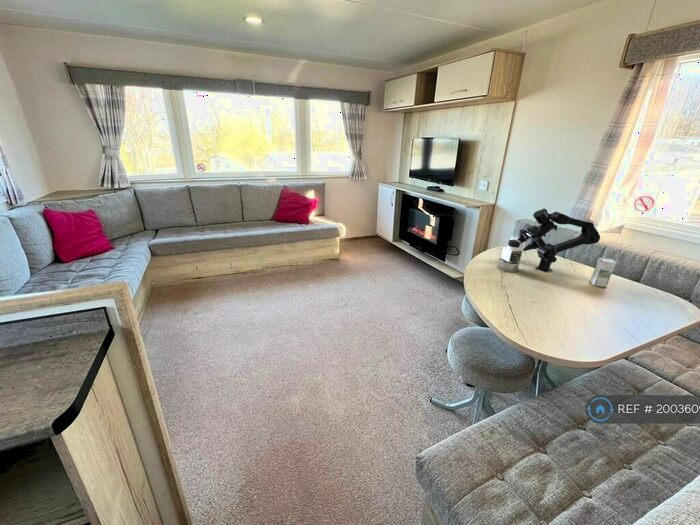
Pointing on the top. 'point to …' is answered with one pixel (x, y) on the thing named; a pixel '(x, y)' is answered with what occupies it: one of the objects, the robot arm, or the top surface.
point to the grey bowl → (508, 265)
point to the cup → (520, 244)
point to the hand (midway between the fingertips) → (518, 247)
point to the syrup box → (602, 272)
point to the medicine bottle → (512, 251)
